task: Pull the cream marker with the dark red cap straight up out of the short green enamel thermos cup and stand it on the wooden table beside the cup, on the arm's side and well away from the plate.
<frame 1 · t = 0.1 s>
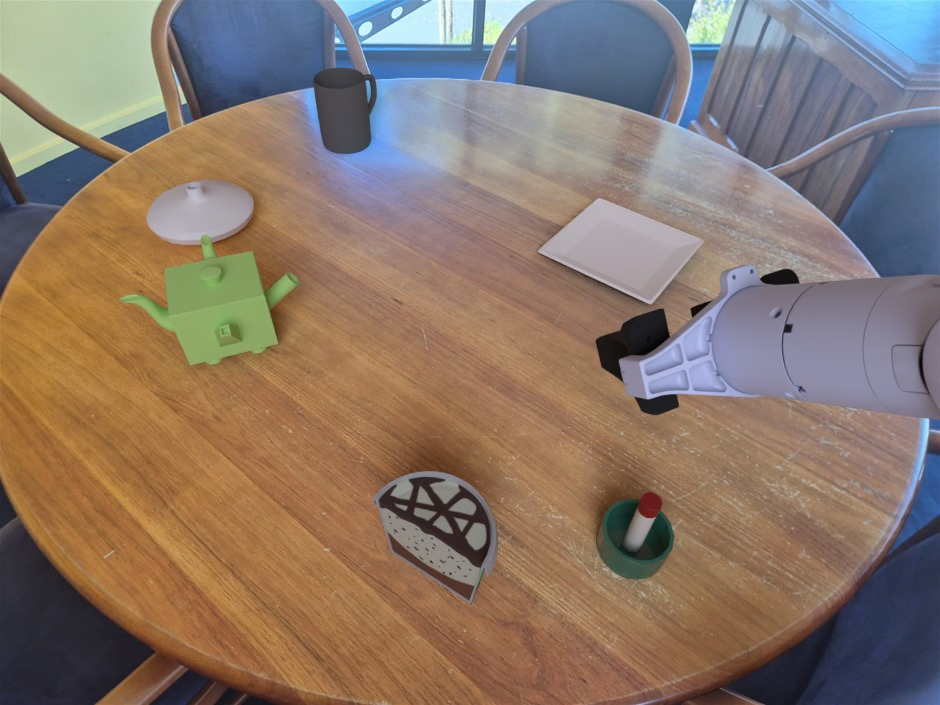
hand: (651, 336, 42), 29 cm above the table, tool tilted 50°, fingers open, 7 cm apart
cake slice: (447, 553, 62), on the table
plate: (619, 256, 95), on the table
kettle: (230, 336, 81), on the table
marker: (631, 544, 62), resting on thermos cup
mug: (355, 138, 118), on the table
grey lid: (206, 226, 97), on the table
thermos cup: (630, 546, 62), on the table
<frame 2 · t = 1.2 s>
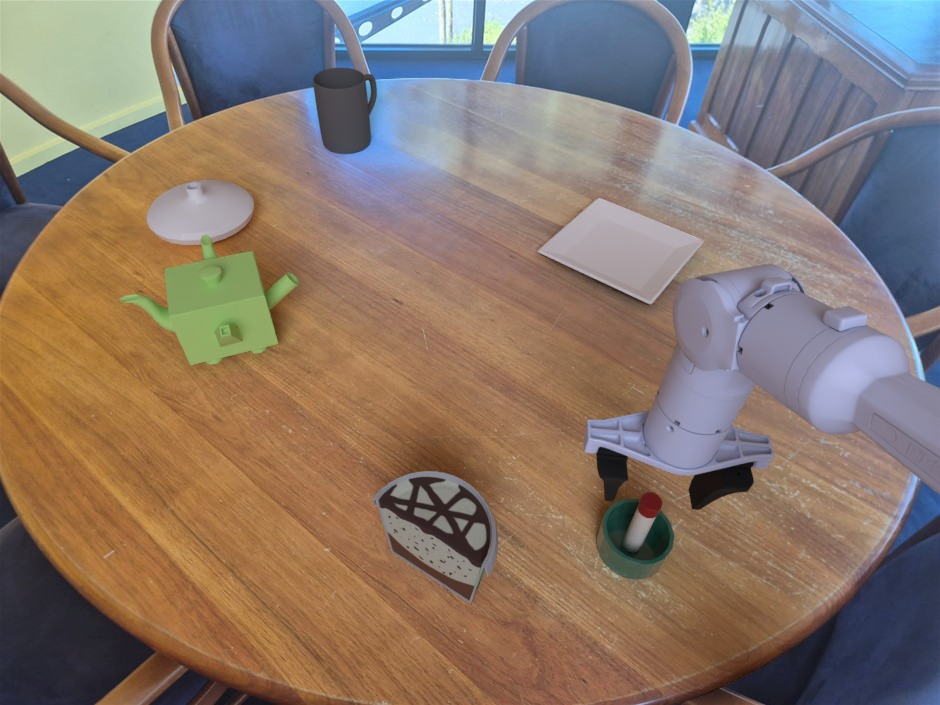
hand: (650, 495, 56), 9 cm above the table, tool pointing down, fingers open, 7 cm apart
nothing on the table moved.
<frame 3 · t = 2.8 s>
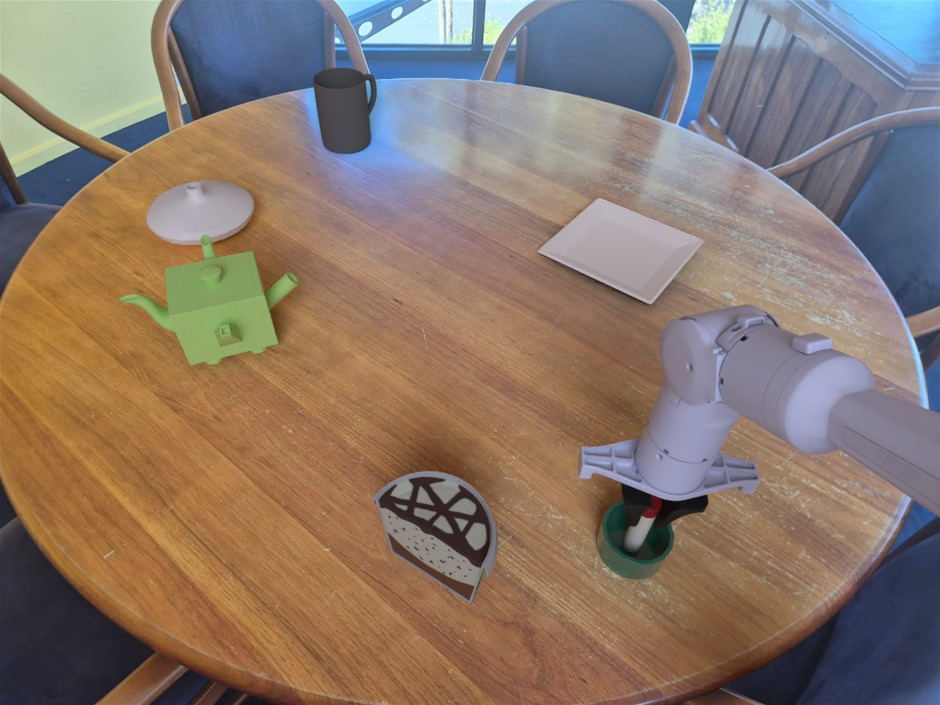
hand: (643, 517, 58), 6 cm above the table, tool pointing down, fingers closed on marker, 2 cm apart
marker: (631, 544, 62), point 1 cm above the table, touching gripper, thermos cup
everything else where it was.
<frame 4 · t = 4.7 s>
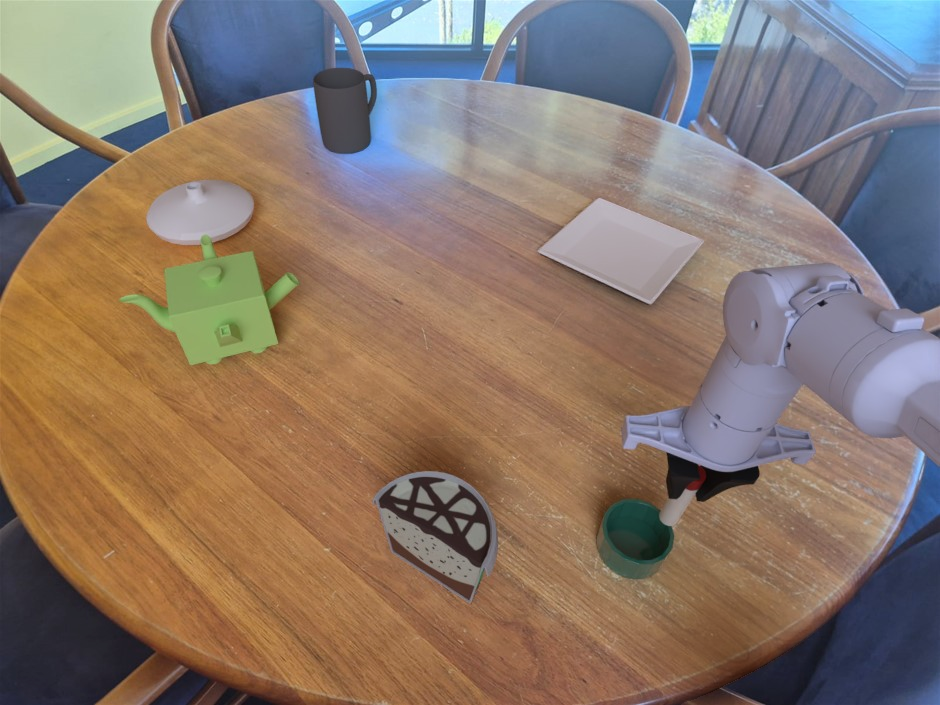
hand: (685, 490, 56), 10 cm above the table, tool pointing down, fingers closed on marker
marker: (668, 517, 60), point 4 cm above the table, touching gripper
everything else where it was.
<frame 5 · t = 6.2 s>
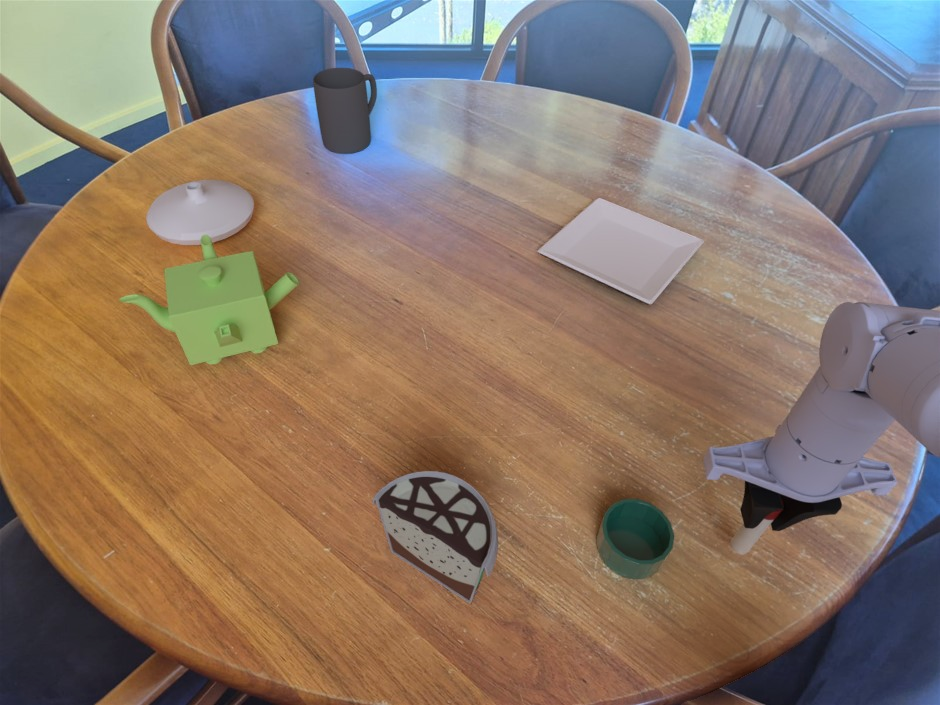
hand: (760, 519, 57), 7 cm above the table, tool pointing down, fingers closed on marker, 2 cm apart
marker: (739, 546, 61), point 2 cm above the table, touching gripper
everything else where it was.
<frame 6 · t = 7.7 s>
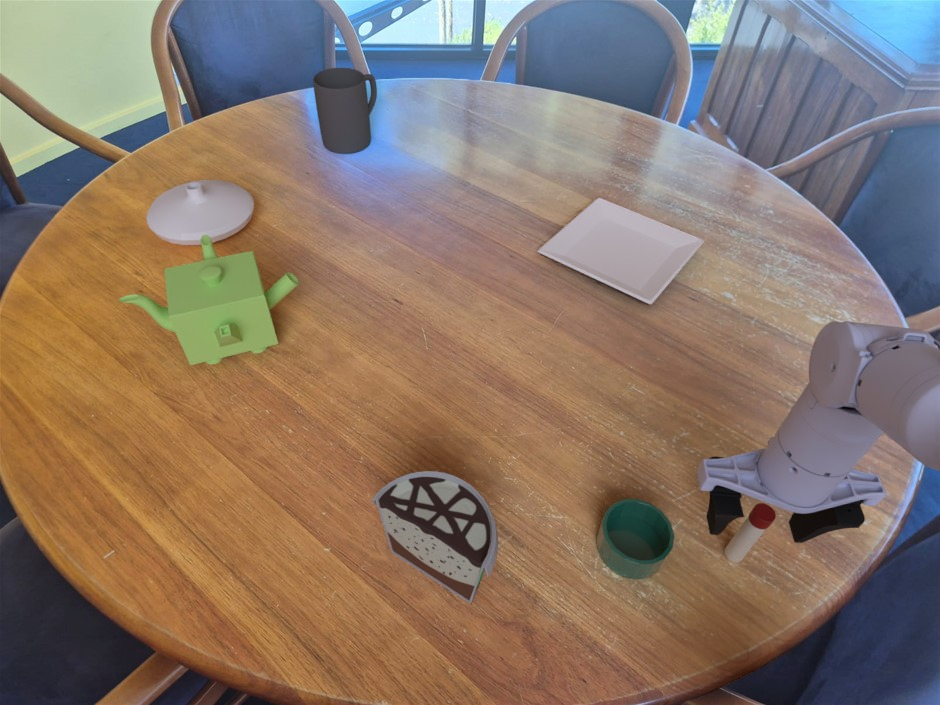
hand: (753, 528, 58), 5 cm above the table, tool pointing down, fingers open, 7 cm apart
marker: (733, 554, 62), on the table
everything else where it was.
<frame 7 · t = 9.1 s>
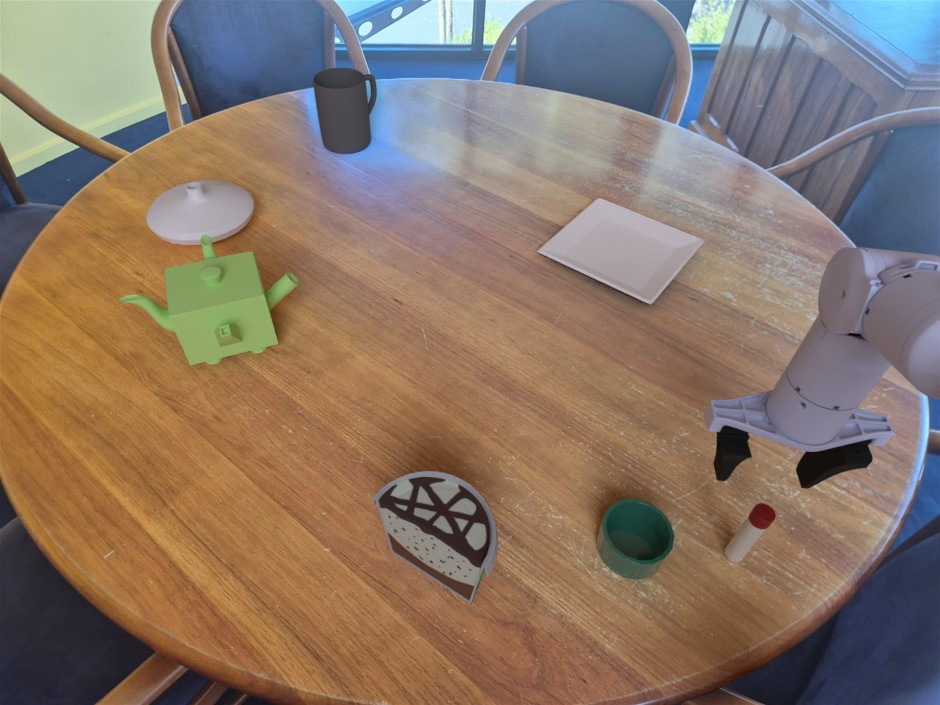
hand: (760, 475, 58), 9 cm above the table, tool pointing down, fingers open, 7 cm apart
nothing on the table moved.
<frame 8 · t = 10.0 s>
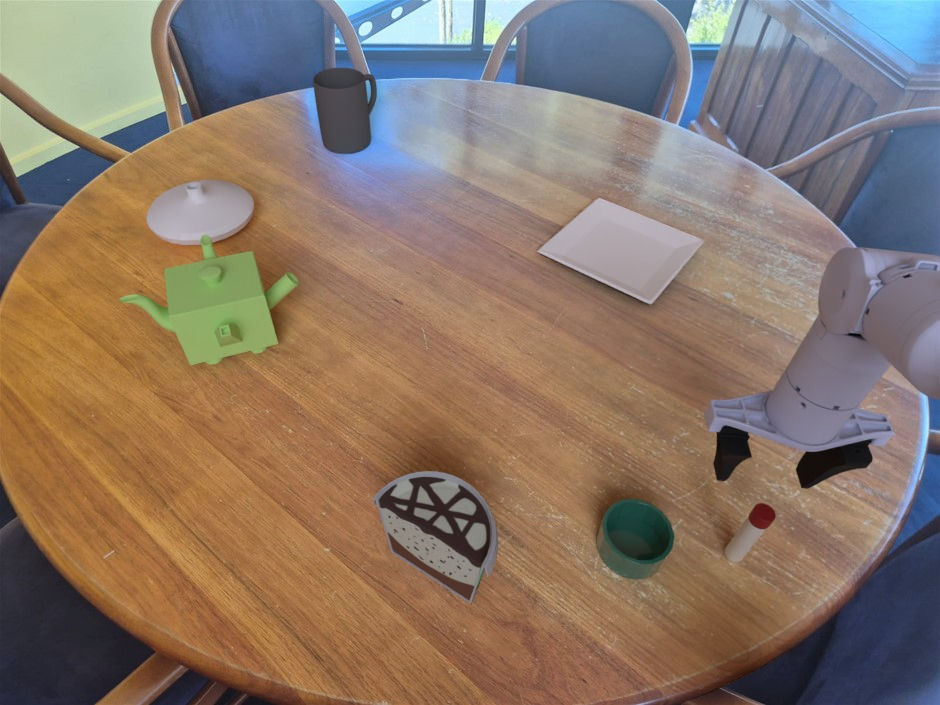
hand: (760, 475, 58), 9 cm above the table, tool pointing down, fingers open, 7 cm apart
nothing on the table moved.
at the end: marker 0.1 cm from the target spot on the table beside the thermos cup, on the table; the gripper is holding nothing; marker touching table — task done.
